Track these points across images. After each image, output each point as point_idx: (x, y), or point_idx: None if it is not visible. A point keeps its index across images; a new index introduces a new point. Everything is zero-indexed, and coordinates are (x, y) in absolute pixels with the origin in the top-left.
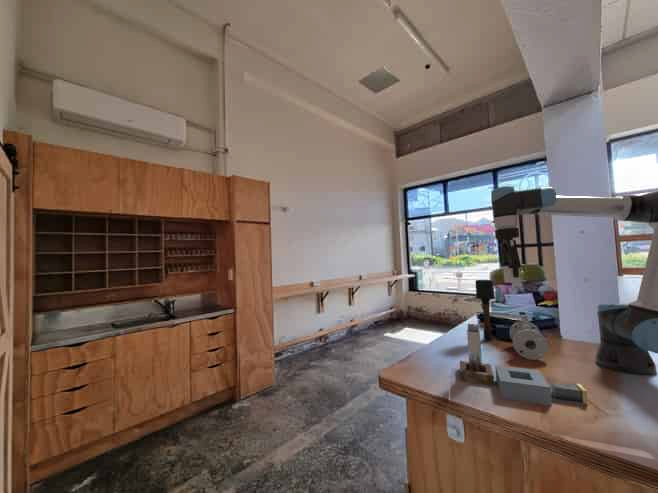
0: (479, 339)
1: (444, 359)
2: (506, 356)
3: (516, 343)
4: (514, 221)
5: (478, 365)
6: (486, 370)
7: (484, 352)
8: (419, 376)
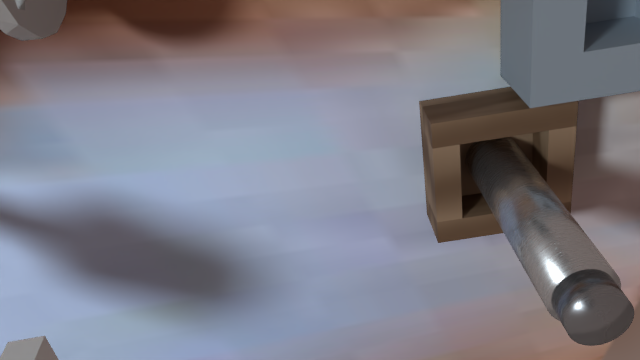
0: (584, 237)
1: (307, 290)
2: (89, 47)
3: (48, 13)
4: None
5: (538, 172)
6: (522, 133)
7: (92, 155)
8: (532, 322)
